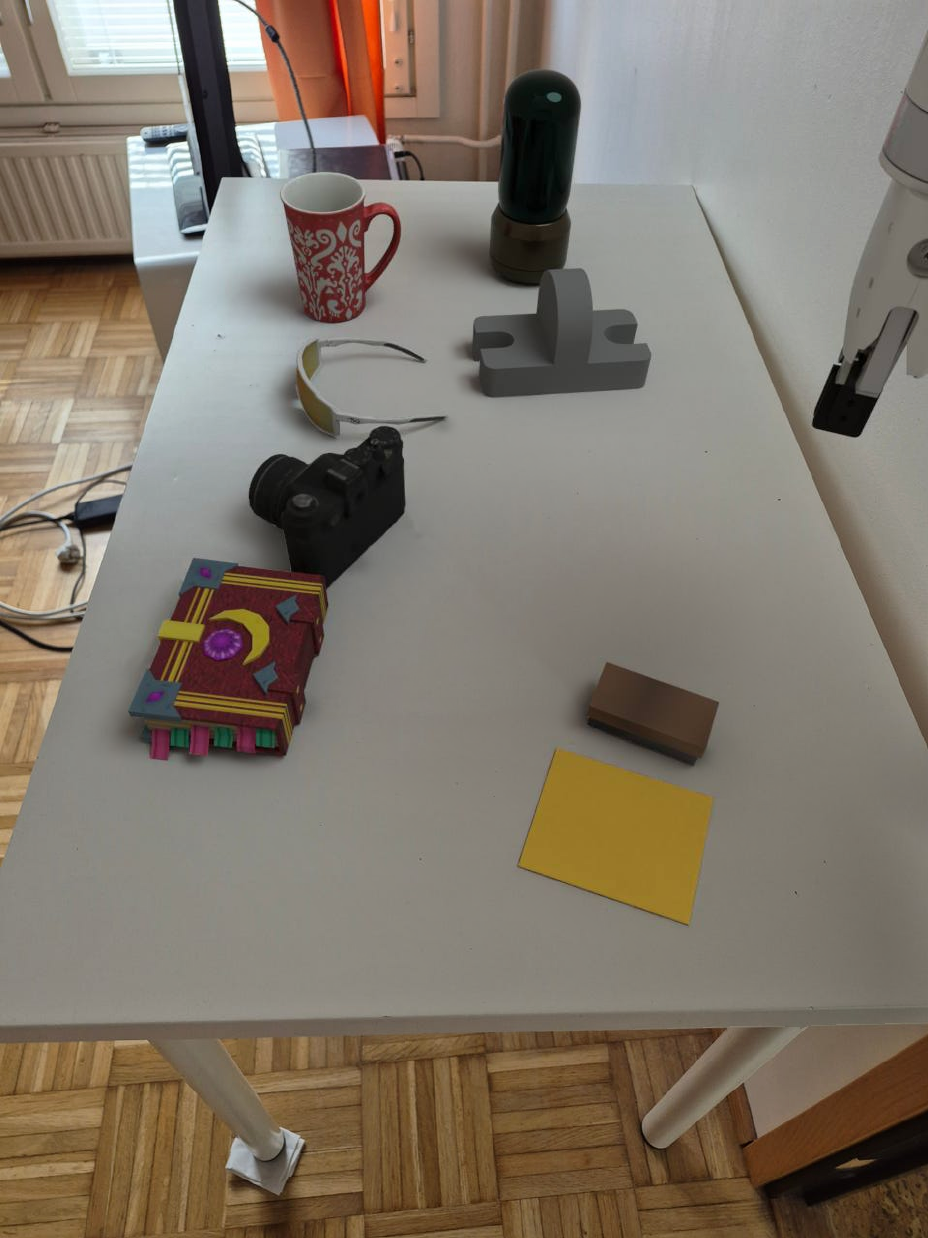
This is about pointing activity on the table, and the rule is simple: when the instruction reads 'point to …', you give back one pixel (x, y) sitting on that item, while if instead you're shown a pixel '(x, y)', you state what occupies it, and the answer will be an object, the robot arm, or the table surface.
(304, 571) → the camera
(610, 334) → the bracket
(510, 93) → the lamp
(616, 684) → the brush
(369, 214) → the mug
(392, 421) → the sunglasses
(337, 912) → the table surface
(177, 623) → the decorative book
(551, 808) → the cloth
